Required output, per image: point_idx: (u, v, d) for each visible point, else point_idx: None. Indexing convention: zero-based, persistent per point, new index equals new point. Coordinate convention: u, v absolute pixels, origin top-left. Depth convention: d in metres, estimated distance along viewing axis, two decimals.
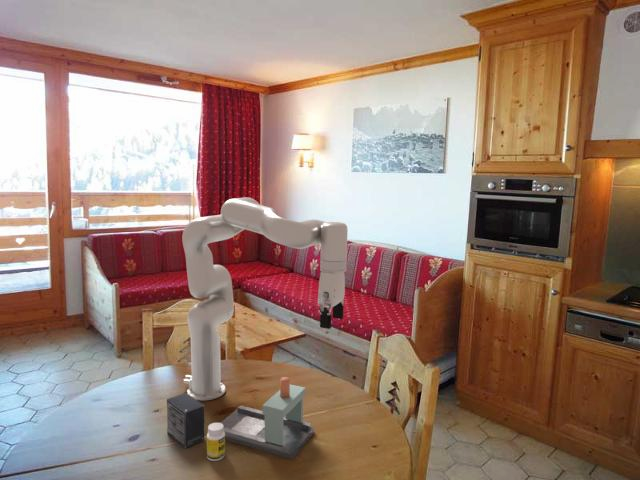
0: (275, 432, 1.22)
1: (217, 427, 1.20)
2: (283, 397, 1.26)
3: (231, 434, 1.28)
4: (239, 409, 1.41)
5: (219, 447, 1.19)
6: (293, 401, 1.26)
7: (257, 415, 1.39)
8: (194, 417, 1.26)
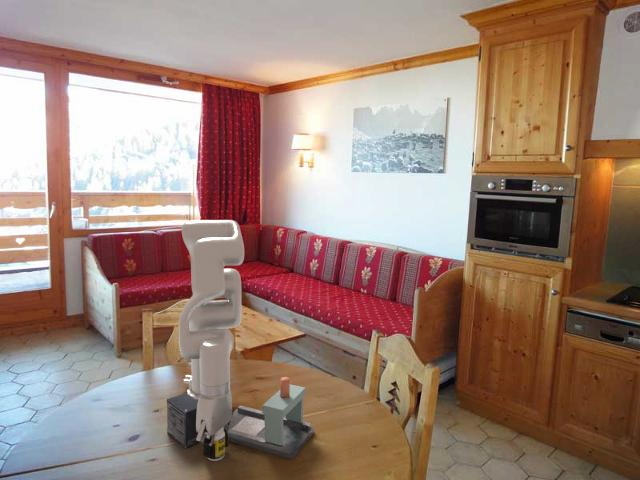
0: (275, 432, 1.22)
1: None
2: (283, 397, 1.26)
3: (231, 434, 1.28)
4: (239, 409, 1.41)
5: (219, 447, 1.19)
6: (293, 401, 1.26)
7: (257, 415, 1.39)
8: (194, 416, 1.26)
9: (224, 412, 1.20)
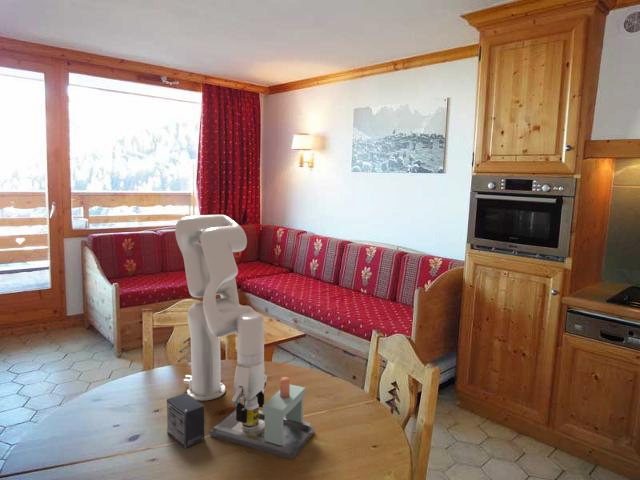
0: (275, 432, 1.22)
1: (252, 398, 1.32)
2: (283, 397, 1.26)
3: (231, 434, 1.28)
4: None
5: (254, 417, 1.31)
6: (293, 401, 1.26)
7: None
8: (194, 417, 1.26)
9: (258, 380, 1.31)
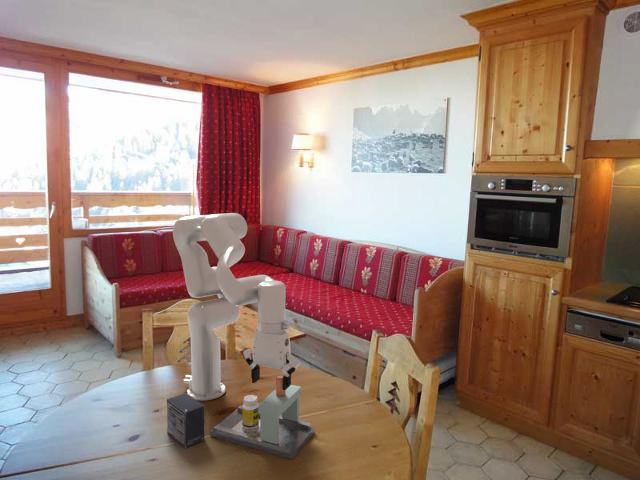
0: (271, 431, 1.23)
1: (252, 398, 1.32)
2: (279, 396, 1.27)
3: (231, 434, 1.28)
4: (239, 409, 1.41)
5: (254, 417, 1.31)
6: (289, 400, 1.26)
7: None
8: (194, 416, 1.26)
9: (268, 353, 1.25)
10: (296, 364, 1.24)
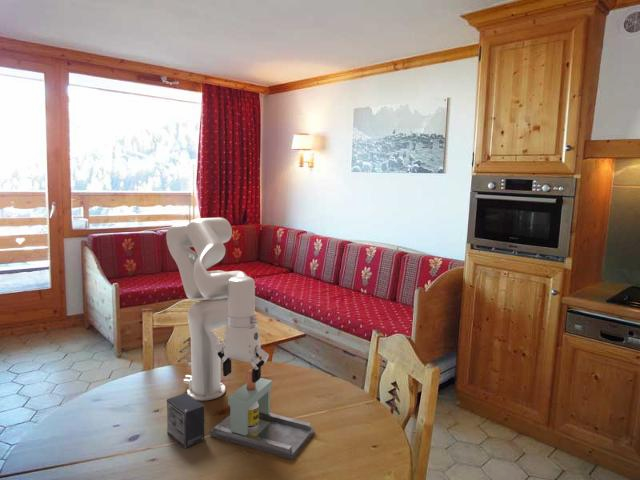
0: (240, 423, 1.26)
1: None
2: (249, 389, 1.31)
3: (231, 434, 1.28)
4: None
5: (254, 417, 1.31)
6: (258, 393, 1.30)
7: None
8: (194, 417, 1.26)
9: (238, 346, 1.29)
10: (265, 357, 1.28)
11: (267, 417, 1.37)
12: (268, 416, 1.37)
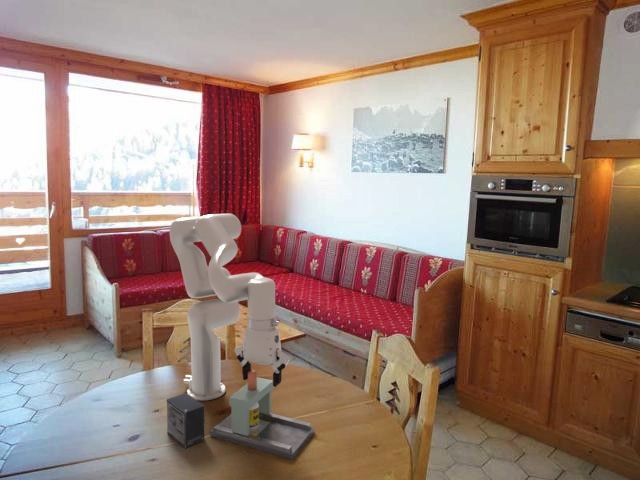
0: (241, 423, 1.26)
1: None
2: (250, 389, 1.30)
3: (231, 434, 1.28)
4: None
5: (254, 417, 1.31)
6: (260, 393, 1.30)
7: None
8: (194, 417, 1.26)
9: (258, 349, 1.26)
10: (286, 360, 1.25)
11: (267, 417, 1.37)
12: (268, 416, 1.37)
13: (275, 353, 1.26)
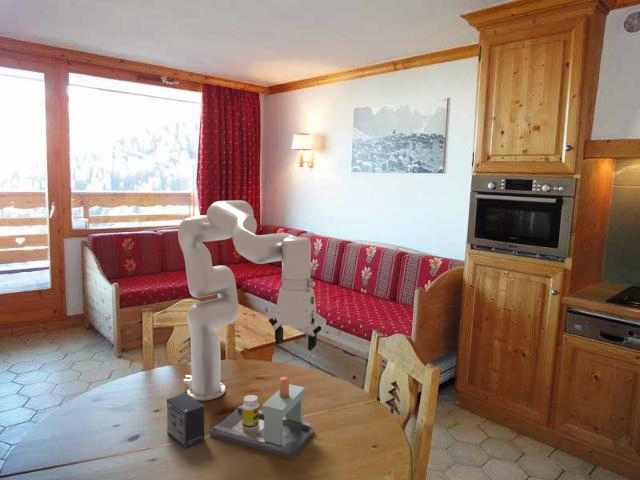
0: (274, 432, 1.22)
1: (252, 398, 1.32)
2: (282, 397, 1.26)
3: (231, 434, 1.28)
4: (239, 409, 1.41)
5: (254, 417, 1.31)
6: (292, 401, 1.26)
7: None
8: (194, 416, 1.26)
9: (293, 311, 1.20)
10: (322, 323, 1.20)
11: None
12: None
13: (311, 315, 1.20)
